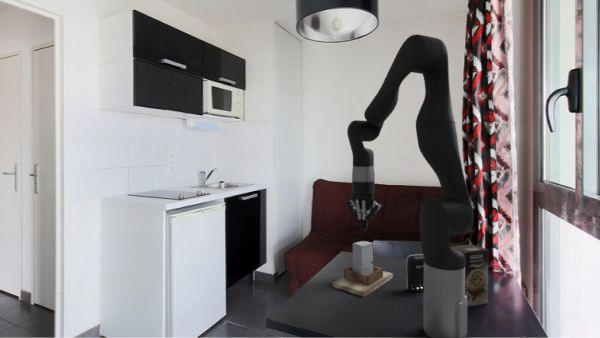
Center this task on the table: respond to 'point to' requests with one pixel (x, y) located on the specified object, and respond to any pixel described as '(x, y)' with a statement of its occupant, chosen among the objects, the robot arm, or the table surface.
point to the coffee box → (475, 274)
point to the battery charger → (415, 273)
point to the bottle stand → (362, 281)
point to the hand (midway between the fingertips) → (363, 230)
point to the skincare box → (363, 257)
